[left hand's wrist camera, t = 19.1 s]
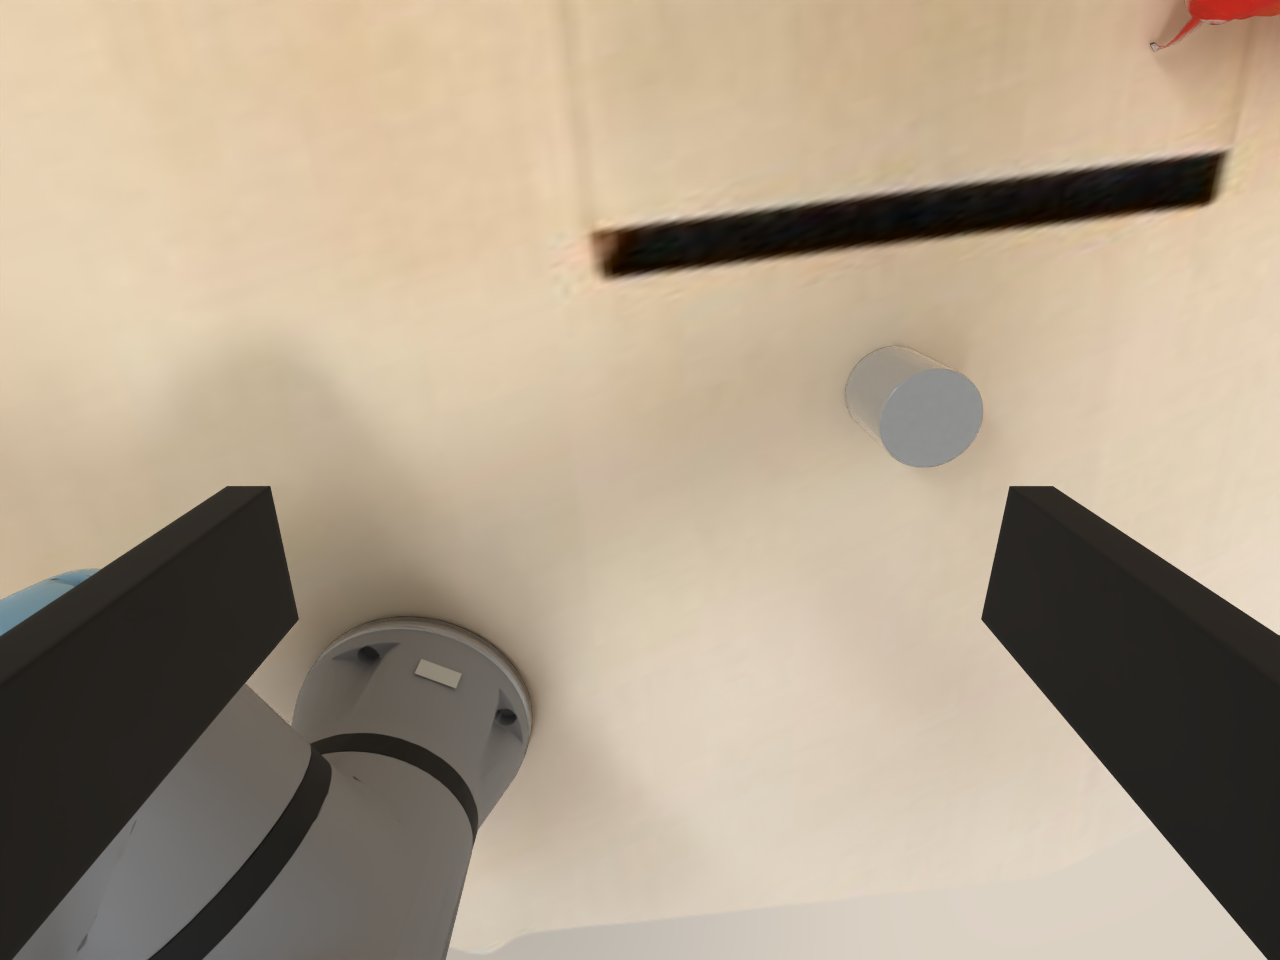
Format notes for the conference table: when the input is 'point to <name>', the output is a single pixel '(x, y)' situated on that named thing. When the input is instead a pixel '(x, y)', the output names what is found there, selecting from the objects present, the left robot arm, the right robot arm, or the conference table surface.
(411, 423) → the conference table surface
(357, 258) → the conference table surface
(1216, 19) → the fish
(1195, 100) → the conference table surface
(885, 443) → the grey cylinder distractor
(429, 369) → the conference table surface
